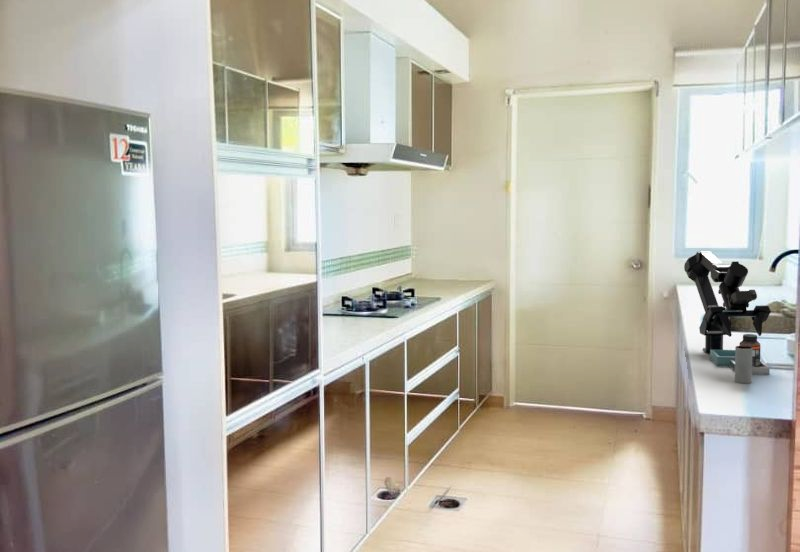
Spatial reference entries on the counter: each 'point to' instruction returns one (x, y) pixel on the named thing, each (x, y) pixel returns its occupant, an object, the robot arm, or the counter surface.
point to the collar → (755, 368)
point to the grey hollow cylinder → (743, 364)
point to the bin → (722, 357)
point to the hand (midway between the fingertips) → (745, 335)
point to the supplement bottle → (752, 342)
